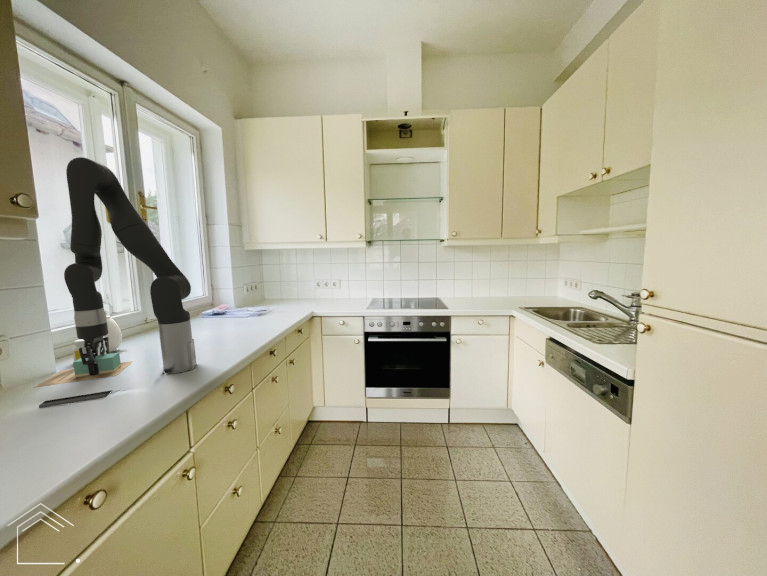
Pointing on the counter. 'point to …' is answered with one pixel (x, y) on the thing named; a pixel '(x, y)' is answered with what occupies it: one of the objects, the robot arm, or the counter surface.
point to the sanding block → (99, 364)
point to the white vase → (113, 334)
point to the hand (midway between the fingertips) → (98, 371)
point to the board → (69, 376)
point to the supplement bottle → (77, 348)
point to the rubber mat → (74, 399)
